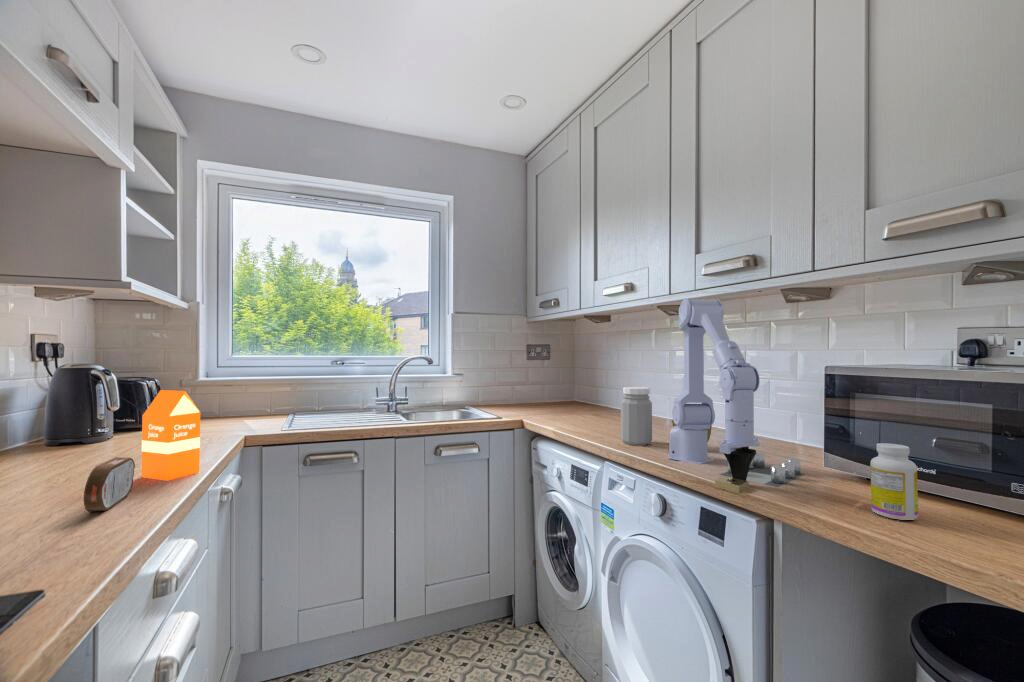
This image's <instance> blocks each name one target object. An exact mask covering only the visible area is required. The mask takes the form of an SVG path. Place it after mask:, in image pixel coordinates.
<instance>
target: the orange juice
mask: <svg viewBox="0 0 1024 682" xmlns="http://www.w3.org/2000/svg"><path fill="white" fill-rule="evenodd" d="M141 420H142V423H141V424H142V425H141V426H142V430H141V432H142V433H141V436H142V437H141V470H140V471H141V473H140V474H141V475H140V476H141V477H140V478H144V479H154V480H161V481H172V480H175V479H179V478H184V477H186V476H190V475H191V476H192V475H194V474H195V475H196V474H198V473H200V455H201V454H200V453H201V411H200V409H199V408H198V407H197V406H196V404H195V403H194V401H193V400H192V398H191V397H190V396H189V394H188V393H187V391H186V390H168V389H167V390H165V389H160V390H159V391H158V393H157V395H156V396H155V397H154V399H153V400H152V402H151V403H150V405H149V406H148V407H147V409H145V411H144V413H143V414H142V419H141Z"/></svg>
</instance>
